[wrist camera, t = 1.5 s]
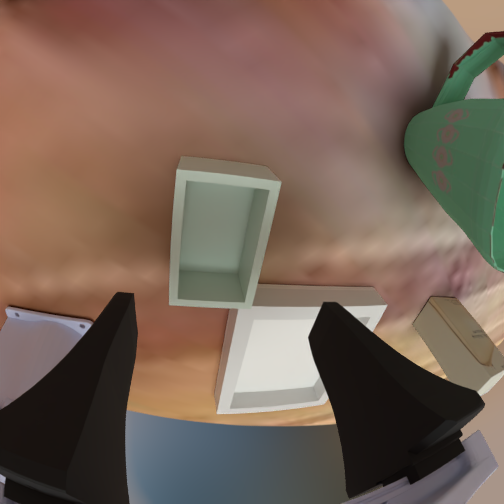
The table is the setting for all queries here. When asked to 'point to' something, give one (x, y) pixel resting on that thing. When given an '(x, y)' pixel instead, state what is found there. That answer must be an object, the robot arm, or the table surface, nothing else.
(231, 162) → the small crate
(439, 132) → the mug
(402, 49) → the table surface
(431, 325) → the skincare box
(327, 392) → the robot arm
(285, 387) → the white square tray
